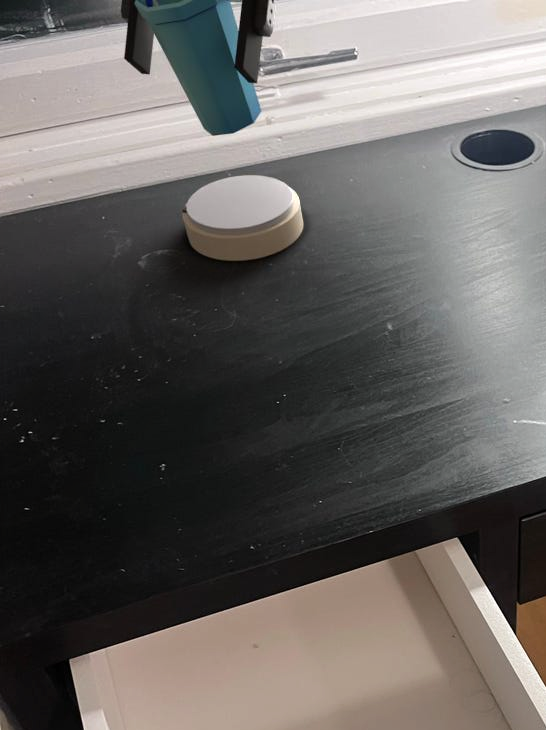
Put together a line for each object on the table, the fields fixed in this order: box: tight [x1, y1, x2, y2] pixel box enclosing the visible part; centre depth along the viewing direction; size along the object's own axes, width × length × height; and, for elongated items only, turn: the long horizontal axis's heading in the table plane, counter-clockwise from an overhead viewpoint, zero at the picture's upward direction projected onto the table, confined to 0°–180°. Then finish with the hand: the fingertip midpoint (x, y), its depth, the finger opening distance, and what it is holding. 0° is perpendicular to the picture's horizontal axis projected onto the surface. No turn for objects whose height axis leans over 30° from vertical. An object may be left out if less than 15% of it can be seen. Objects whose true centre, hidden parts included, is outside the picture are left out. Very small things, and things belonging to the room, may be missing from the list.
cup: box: [134, 0, 262, 137], centre depth 81 cm, size 14×8×15 cm, turn 101°
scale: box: [181, 174, 304, 262], centre depth 94 cm, size 11×11×3 cm
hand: (190, 71), depth 81 cm, fingers closed on cup, 9 cm apart
